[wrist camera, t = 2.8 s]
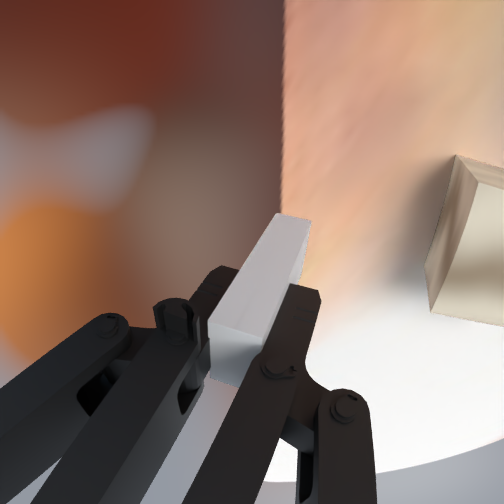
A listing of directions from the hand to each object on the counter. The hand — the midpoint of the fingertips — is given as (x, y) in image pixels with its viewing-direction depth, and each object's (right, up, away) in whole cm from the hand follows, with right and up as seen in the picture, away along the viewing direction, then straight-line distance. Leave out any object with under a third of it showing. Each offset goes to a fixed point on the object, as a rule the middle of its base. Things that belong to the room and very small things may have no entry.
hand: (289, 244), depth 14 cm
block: (+14, +1, +3) cm, 14 cm away
